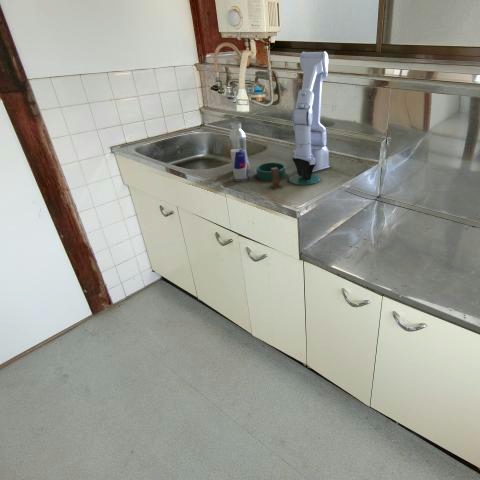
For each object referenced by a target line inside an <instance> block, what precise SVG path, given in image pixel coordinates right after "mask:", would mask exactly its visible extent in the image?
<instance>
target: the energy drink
mask: <svg viewBox="0 0 480 480" xmlns="http://www.w3.org/2000/svg"><path fill="white" fill-rule="evenodd" d="M230 159H231V165H232V173H233V179H234V181H235V182H245V181H247V180H248V179H249V175H248V171H247V166H246V158H245V151H244V149H242V148H235V149H231V150H230Z"/></svg>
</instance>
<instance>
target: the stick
mask: <svg viewBox="0 0 480 480" xmlns="http://www.w3.org/2000/svg"><path fill="white" fill-rule="evenodd" d="M271 177H272V180H271V185H272V187H273V188H275V189H276V188H280V187H281V184H280V179H279V169H278V168H277V167H274V168H271Z"/></svg>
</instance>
